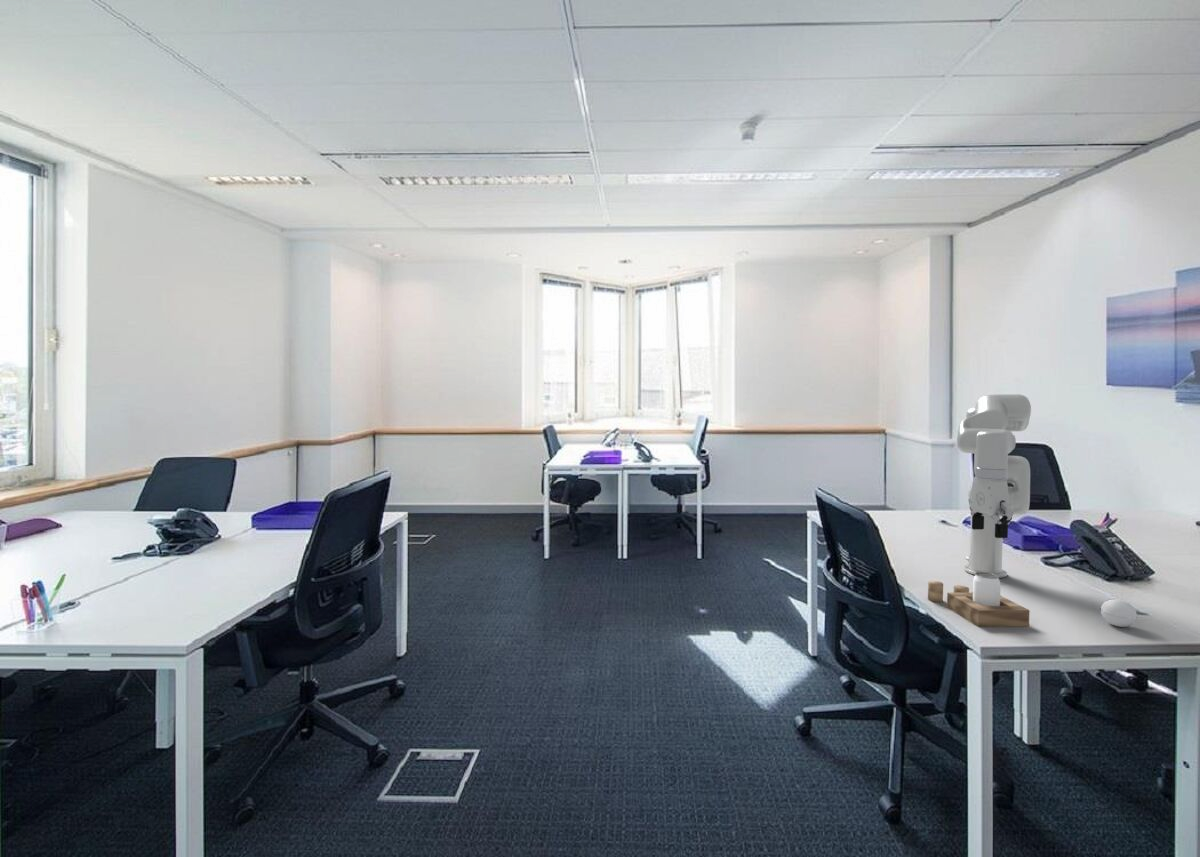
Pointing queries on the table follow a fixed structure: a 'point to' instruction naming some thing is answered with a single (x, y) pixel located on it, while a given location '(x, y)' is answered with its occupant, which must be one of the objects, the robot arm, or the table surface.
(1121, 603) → the white rounded egg-shaped part
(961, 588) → the peg short
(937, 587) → the peg mid
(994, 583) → the can
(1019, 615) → the wooden rectangular frame
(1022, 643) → the table surface
